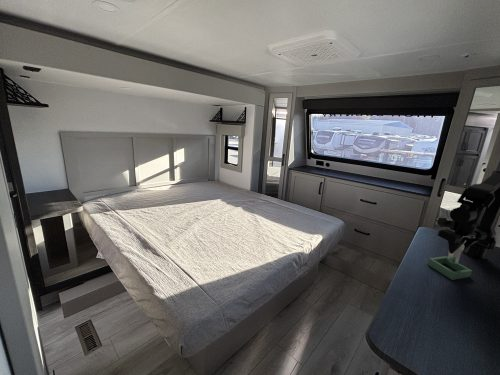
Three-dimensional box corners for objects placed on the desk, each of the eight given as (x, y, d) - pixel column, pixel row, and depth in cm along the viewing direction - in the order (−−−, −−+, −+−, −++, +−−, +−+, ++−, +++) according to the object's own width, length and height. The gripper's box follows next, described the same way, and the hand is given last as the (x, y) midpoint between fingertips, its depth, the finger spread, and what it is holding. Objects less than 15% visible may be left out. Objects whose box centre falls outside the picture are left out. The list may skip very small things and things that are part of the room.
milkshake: (465, 265, 90) (471, 243, 87) (451, 265, 90) (456, 243, 87) (455, 258, 94) (461, 237, 91) (442, 258, 95) (447, 237, 92)
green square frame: (443, 261, 99) (445, 256, 99) (469, 276, 90) (472, 270, 89) (427, 264, 97) (429, 258, 96) (452, 279, 88) (454, 273, 87)
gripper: (462, 208, 96) (449, 240, 101) (430, 211, 91) (419, 244, 96) (494, 220, 86) (479, 254, 91) (460, 223, 81) (446, 259, 86)
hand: (454, 252), depth 91 cm, fingers closed on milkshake, 4 cm apart
